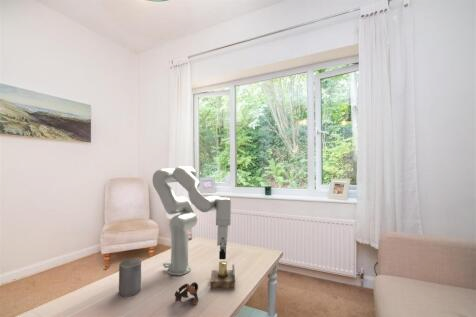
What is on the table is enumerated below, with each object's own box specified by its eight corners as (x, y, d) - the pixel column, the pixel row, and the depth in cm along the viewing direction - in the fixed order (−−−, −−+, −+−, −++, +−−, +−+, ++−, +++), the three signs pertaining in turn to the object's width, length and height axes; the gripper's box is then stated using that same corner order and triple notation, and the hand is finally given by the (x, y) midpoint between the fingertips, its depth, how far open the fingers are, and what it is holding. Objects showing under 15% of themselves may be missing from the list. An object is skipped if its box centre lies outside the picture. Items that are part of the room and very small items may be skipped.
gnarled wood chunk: (193, 311, 98) (183, 294, 98) (177, 315, 102) (168, 299, 102) (206, 290, 109) (197, 274, 108) (192, 294, 113) (183, 279, 113)
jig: (210, 288, 114) (210, 275, 114) (211, 276, 126) (212, 264, 126) (234, 288, 115) (234, 275, 115) (234, 276, 127) (234, 264, 127)
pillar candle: (119, 288, 115) (119, 257, 115) (141, 284, 118) (141, 254, 118) (117, 299, 106) (118, 265, 106) (141, 294, 109) (141, 262, 110)
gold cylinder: (218, 284, 119) (218, 264, 119) (218, 280, 123) (219, 261, 123) (226, 284, 119) (226, 264, 119) (226, 280, 123) (226, 261, 123)
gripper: (216, 217, 130) (216, 249, 129) (214, 226, 112) (214, 262, 112) (230, 217, 130) (229, 249, 130) (230, 226, 113) (230, 262, 112)
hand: (222, 255), depth 121 cm, fingers open, 8 cm apart
